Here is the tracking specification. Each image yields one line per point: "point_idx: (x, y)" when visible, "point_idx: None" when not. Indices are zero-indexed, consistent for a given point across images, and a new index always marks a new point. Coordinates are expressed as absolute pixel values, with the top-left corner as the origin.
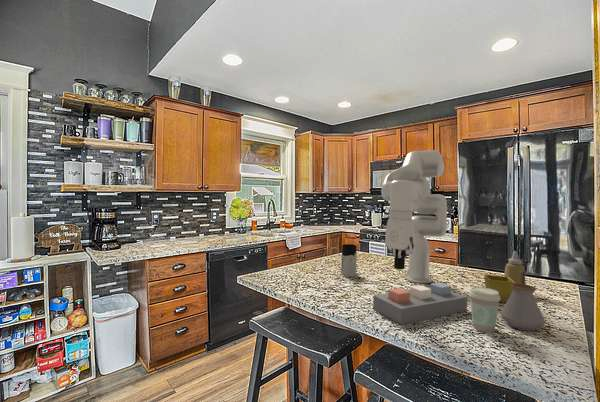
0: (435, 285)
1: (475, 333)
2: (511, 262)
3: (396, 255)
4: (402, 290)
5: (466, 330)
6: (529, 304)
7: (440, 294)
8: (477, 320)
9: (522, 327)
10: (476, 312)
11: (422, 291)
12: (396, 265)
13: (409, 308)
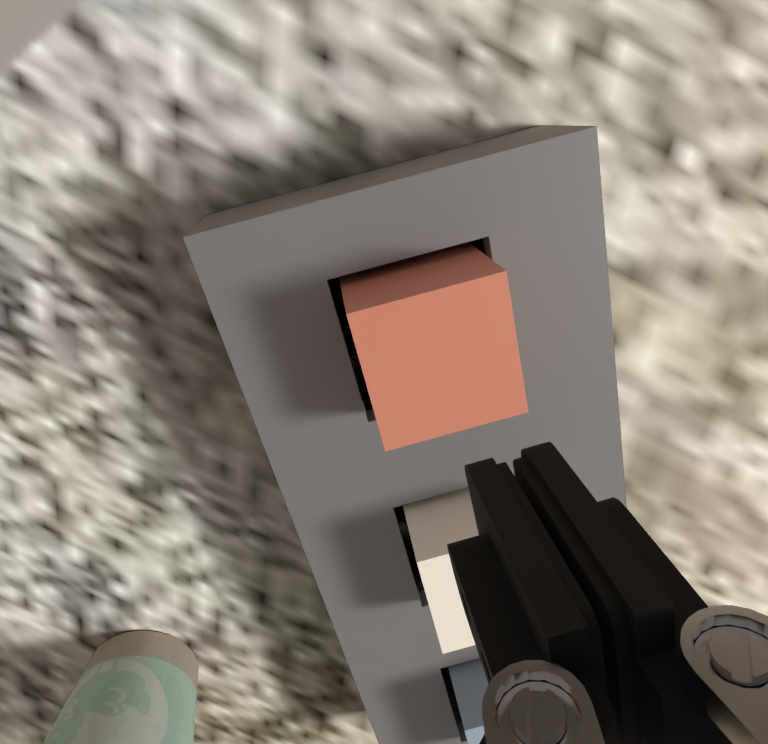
0: None
1: (74, 601)
2: None
3: (689, 688)
4: (452, 408)
5: (114, 579)
6: None
7: (455, 678)
8: (98, 679)
9: None
10: (81, 722)
11: (420, 572)
12: (510, 492)
13: (222, 333)
